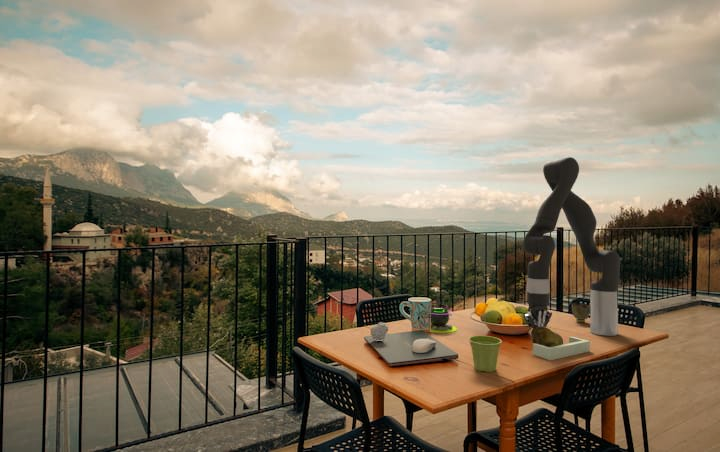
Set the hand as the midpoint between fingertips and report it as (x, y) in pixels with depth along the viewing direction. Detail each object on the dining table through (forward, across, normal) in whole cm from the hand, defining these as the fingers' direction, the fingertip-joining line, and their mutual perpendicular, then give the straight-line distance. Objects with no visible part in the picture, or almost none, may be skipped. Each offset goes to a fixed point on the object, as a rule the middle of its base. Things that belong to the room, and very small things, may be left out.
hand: (537, 339), depth 145 cm
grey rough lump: (+2, +48, -30) cm, 56 cm away
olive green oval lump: (+2, +1, +5) cm, 5 cm away
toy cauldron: (+3, +16, -36) cm, 39 cm away
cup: (+3, -48, -16) cm, 51 cm away
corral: (+2, 0, +10) cm, 10 cm away
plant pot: (+2, +35, +9) cm, 36 cm away
